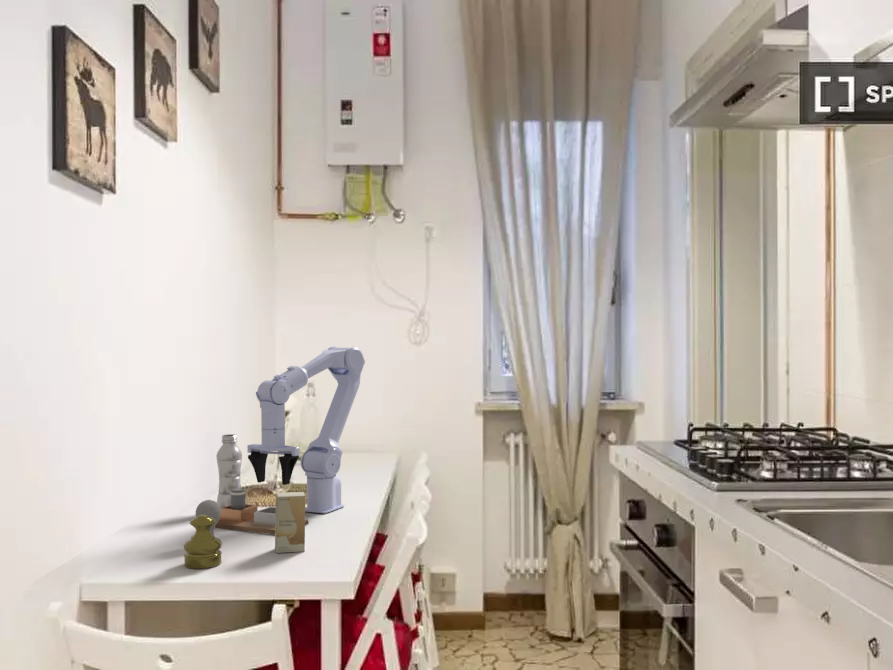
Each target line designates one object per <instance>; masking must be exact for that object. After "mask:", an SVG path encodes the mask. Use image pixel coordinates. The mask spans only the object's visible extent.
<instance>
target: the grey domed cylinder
mask: <svg viewBox="0 0 893 670" xmlns="http://www.w3.org/2000/svg"><path fill="white" fill-rule="evenodd" d="M245 504H246V489H243V488H241V489H235V490H231V509H236V510H242V509H245V508H246V505H245Z"/></svg>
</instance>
